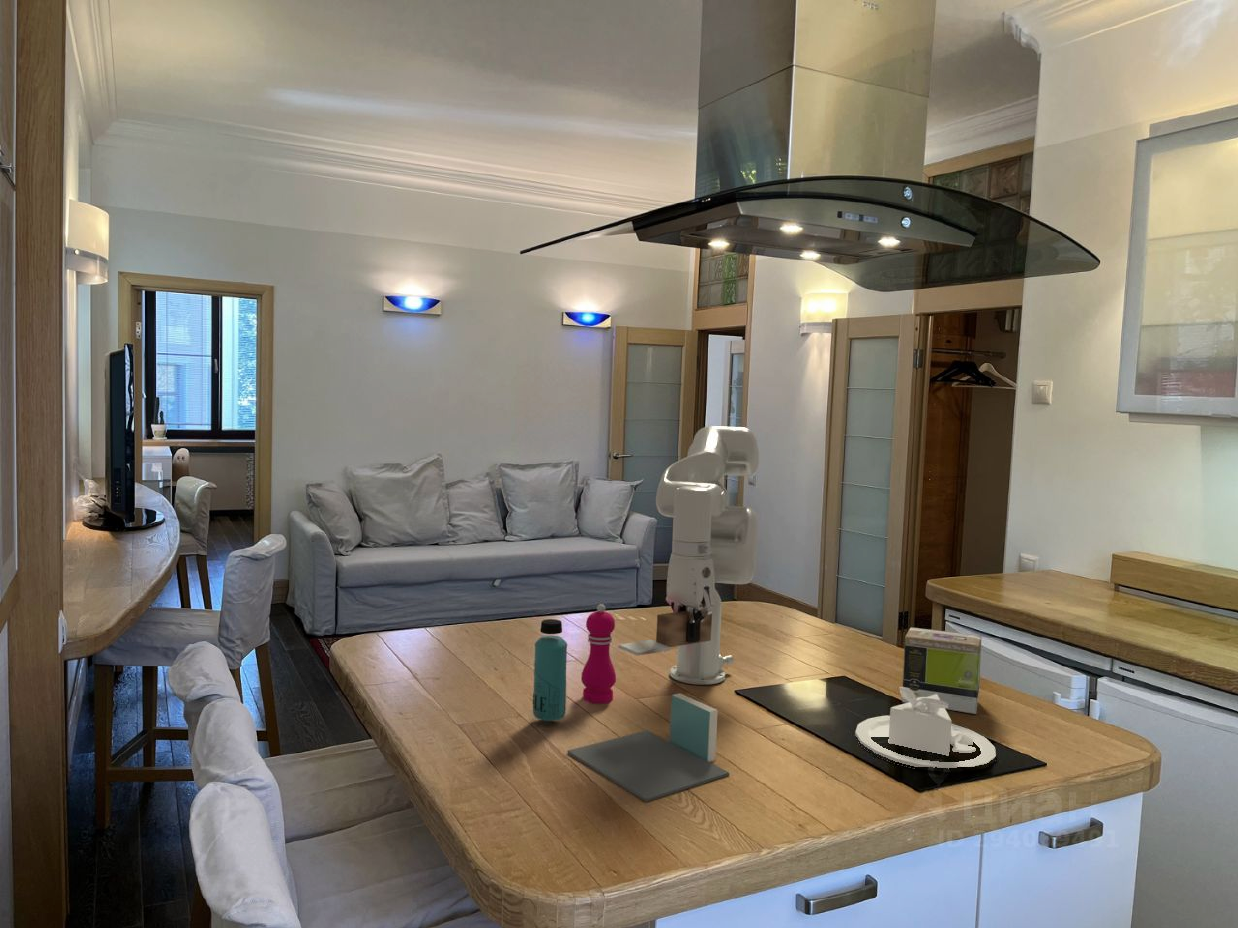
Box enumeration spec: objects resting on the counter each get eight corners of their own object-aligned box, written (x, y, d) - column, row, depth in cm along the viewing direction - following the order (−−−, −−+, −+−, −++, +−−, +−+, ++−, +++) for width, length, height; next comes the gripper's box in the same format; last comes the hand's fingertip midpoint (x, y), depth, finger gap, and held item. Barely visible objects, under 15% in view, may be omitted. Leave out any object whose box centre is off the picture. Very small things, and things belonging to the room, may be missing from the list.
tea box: (978, 701, 188) (983, 634, 187) (976, 716, 179) (981, 645, 178) (906, 689, 195) (910, 624, 194) (900, 703, 185) (904, 635, 184)
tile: (677, 740, 160) (679, 693, 160) (715, 759, 152) (717, 709, 152) (669, 743, 159) (671, 695, 158) (706, 762, 151) (709, 712, 150)
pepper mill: (611, 706, 177) (614, 609, 175) (576, 702, 178) (580, 606, 177) (618, 694, 184) (621, 601, 183) (585, 691, 185) (588, 599, 184)
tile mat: (647, 732, 164) (647, 729, 163) (729, 775, 146) (729, 772, 146) (567, 753, 153) (567, 750, 153) (645, 801, 135) (646, 798, 135)
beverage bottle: (570, 719, 169) (574, 618, 167) (557, 731, 163) (560, 626, 161) (540, 714, 171) (543, 614, 169) (525, 725, 165) (528, 622, 163)
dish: (983, 787, 146) (988, 721, 145) (837, 750, 159) (841, 690, 158) (1005, 741, 167) (1009, 683, 166) (875, 712, 180) (878, 659, 179)
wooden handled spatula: (696, 635, 180) (697, 606, 179) (715, 642, 175) (717, 613, 174) (618, 647, 168) (619, 617, 167) (637, 655, 163) (638, 624, 162)
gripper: (733, 554, 168) (728, 647, 170) (679, 541, 181) (675, 627, 183) (704, 557, 164) (700, 652, 165) (650, 543, 177) (647, 632, 178)
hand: (687, 638), depth 174 cm, fingers closed on wooden handled spatula, 2 cm apart
